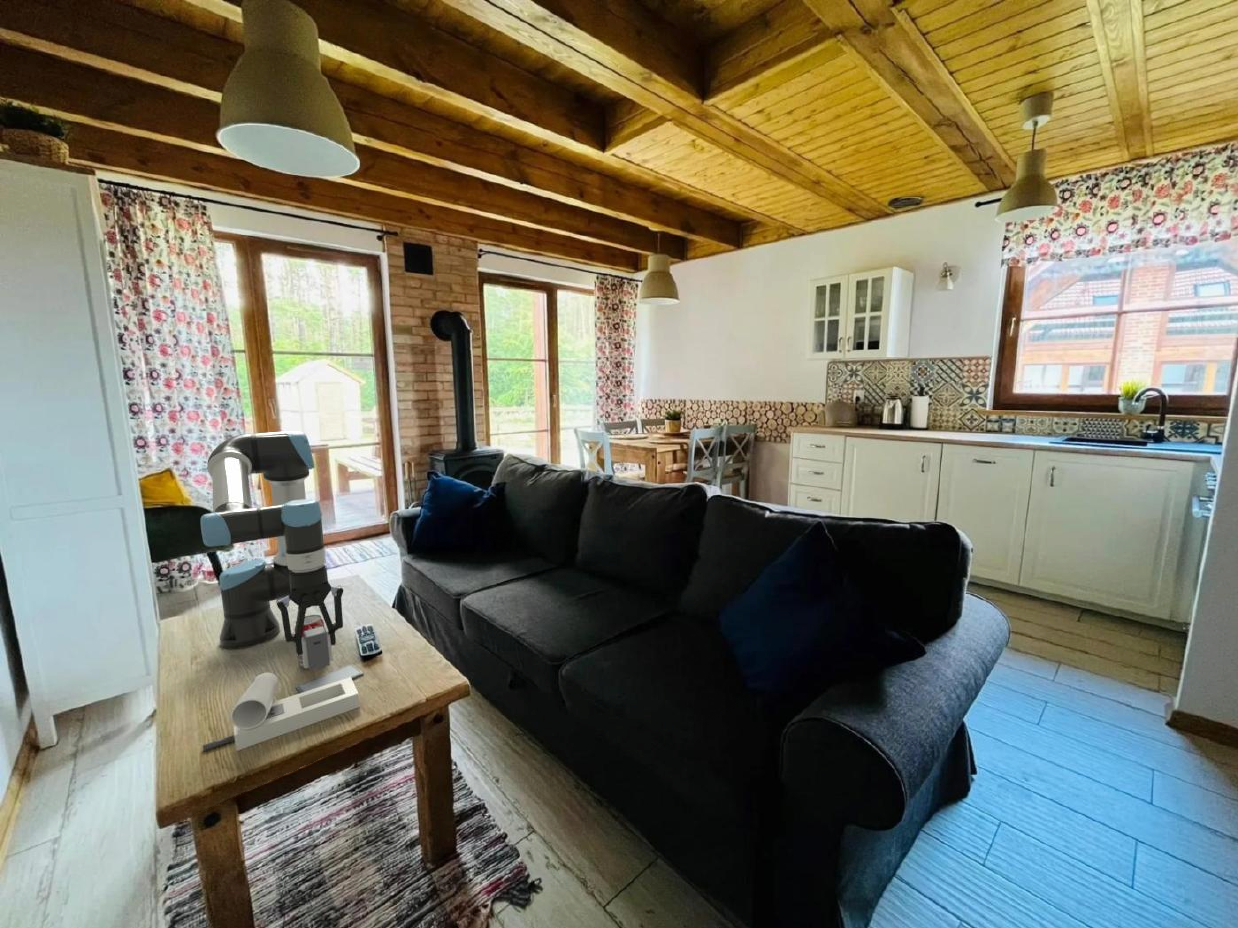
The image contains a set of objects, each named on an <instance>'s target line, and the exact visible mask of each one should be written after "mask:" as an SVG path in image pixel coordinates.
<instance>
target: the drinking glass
mask: <svg viewBox="0 0 1238 928" xmlns="http://www.w3.org/2000/svg"><path fill="white" fill-rule="evenodd" d="M278 686H279V678H278V677H277V676H276V675H275V674H274V673H271V672H264V673H262V672H261V674H258V675H257V676H255V678H254V679H253V680H252V682H251V684H250V685H249V686H248V687H247V689H246V690H244V692H242V694H241V695H240V697H239V698H238V700H237V701H236V703H235V705H234V706H233V708H232V711H231V713H230V721H231V723H232V725H233V726H234V725H235V726H236V727H238V728H240V729H252V728H255V727H257V726H259V725H260V724H261V723H263V721H264V720H265V719H266V717H267V715H268V713H269V711H270V709H271V707H272V703H273V702H274V699H275V695H276V690H277V689H278Z"/></svg>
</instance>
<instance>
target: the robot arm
mask: <svg viewBox="0 0 1238 928" xmlns="http://www.w3.org/2000/svg"><path fill="white" fill-rule="evenodd" d="M206 467H207V473H208V475H209V476H210V477H211V478H212V512H209V513H205V514H203V515H202V516H201V517H200V530H201V531H200V532H201V537H202V542H203V544H204V545H205V546H206V547H218V546H220V547H221V546H229V545H232V544H233V545H234V544H240V543H246V542H251V541H252V542H253V541H258V540H267V539H272V538H276V542H277V550H278V551H277V553H276V554H274V556H273V559H272V561H273V562H271V563H267V562H266V561H265V560H263V559H251V560H248V561H244V562H240V563H237V564H234V565H232V566H230V567H228V568H226V569H225V570H223V571H222V572H221V573H220V575H219V577H218V578H219V591H220V594H221V595H220V597H221V602H222V603H221V604H222V610H223V611H222V612H223V618H224V619H223V622H222V623H223V624H222V627H221V630H220V631H221V632H220V635H219V644H220V647H221V648H224V649H229V650H236V649H237V650H238V649H245V648H249V647H254V646H258V645H259V644H263V643H266V642H267V641H269V640H270V641H271V640H272V639H273V638H275V637H276V636H278V634H280V632H281V629H280V623H279V621H278V619H277V617H276V616H275V614H274V612H273V610H272V609H271V608H272V607H271V602H272V601H275V603H276V606H277V608H278V609H279V610H280V613H281V620H282V626H283V632H284V633H283V634H284V638H285V641H286V643H291V642H292V643H294V645H295V652H296V654H297V656H298V655H301V654H302V656H303V664H304V667H305V668H304V669H309V668H308V659H307V649H306V641H305V638H304V637H302V634H303V627H304V620H305V616H306V613H307V609H310V608H311V607H318V608H319V611H320V613H321V617H322V619H323V621H324V624H325V625H326V628H327V630H326V632H327V641H328V650H329V660H330V662H332V661H333V654H332V652H333V650H332V646H335V645H336V643H337V642H336V641H337V640H336V631H338V630H341V629H343V627H344V622H343V621H344V620H343V603H342V596H343V593H344V589H343V587H342V585H337V586H333V585H331V584H330V582H329V577H328V568H327V565H326V562H327V559H326V551H325V542H324V533H323V522H322V516H323V513H322V511H321V506H320V502H319V501H318V500H316V499H311V498H307V497H306V488H305V487H306V486H305V480H306V479H307V478H308V477H309V476H310V470H312V469H315V461H314V457H313V453H312V449H311V446H310V442H309V439H308V437H307V434H306V433H304V432H302V431H289V430H287V431H275V432H273V431H272V432H260V433H259V432H258V433H243V434H239V435H235V436H231V437H230V438H228V439H226V440H224V441H222V442H221V443H220V444H218V445H217V446H216V447H215V448H214V450H212V451H211V453H210V455H209V457H208V460H207V466H206ZM257 474H262V475H263V479H264V480H265V481H267V482H269V484H270V487H271V488H270V490H271V496H272V497H271V498H272V505H268V506H258V507H253V504H252V497H251V494H252V493H251V487H250V479H249V475H257ZM330 592H331V595H332V596H333V603H334V604H333V605H334V607H333V608H334V619H335V622H334V623H333V621H332V619H331V617H330V614H329V612H328V609H327V606H326V603H325V600H326V599H327V597H328V595H329V593H330ZM290 601H292V602H293V603H294V604H295V605H297V616H296V621H297V622H296V621H295V626H296V629H295V628H294V633H292V630H291V623H290V616H289V611H288V608H289V606H290Z"/></svg>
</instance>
